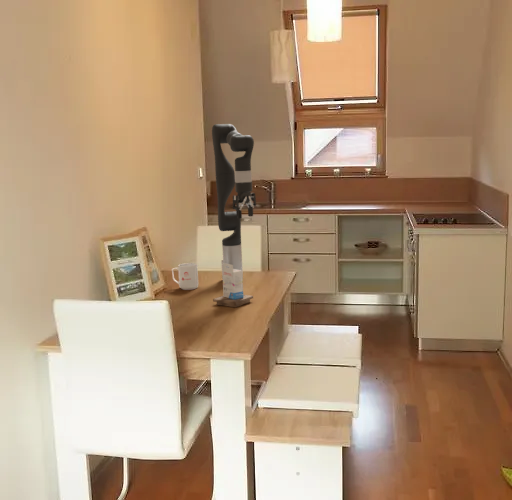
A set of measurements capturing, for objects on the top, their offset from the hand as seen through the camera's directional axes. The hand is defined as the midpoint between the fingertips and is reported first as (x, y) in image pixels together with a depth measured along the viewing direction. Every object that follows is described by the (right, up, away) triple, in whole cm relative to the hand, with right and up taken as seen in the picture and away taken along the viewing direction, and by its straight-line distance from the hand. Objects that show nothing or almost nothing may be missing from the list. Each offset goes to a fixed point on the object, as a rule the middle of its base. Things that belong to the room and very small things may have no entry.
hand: (245, 217), depth 302 cm
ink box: (-5, -35, -18) cm, 39 cm away
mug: (-28, -33, +14) cm, 45 cm away
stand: (-5, -37, -18) cm, 41 cm away
